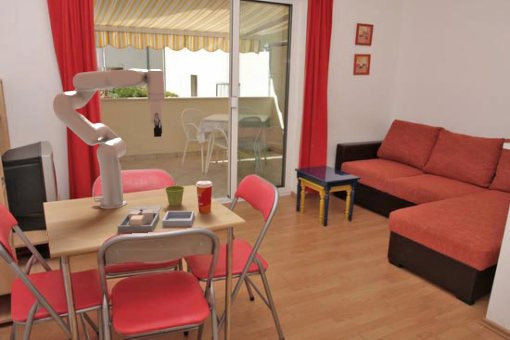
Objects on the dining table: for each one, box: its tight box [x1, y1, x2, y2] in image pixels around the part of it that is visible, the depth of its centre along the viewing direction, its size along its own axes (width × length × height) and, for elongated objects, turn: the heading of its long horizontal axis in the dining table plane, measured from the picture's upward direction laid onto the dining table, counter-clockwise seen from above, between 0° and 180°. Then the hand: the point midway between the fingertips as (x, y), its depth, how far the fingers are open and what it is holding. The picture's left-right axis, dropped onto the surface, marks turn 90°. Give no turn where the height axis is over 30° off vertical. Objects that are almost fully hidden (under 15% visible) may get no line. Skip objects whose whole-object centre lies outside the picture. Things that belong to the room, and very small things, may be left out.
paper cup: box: [195, 180, 213, 214], centre depth 187 cm, size 8×8×14 cm
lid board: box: [124, 205, 162, 217], centre depth 185 cm, size 14×14×2 cm
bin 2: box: [161, 210, 195, 227], centre depth 174 cm, size 12×12×3 cm
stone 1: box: [129, 211, 142, 223], centre depth 173 cm, size 4×4×4 cm
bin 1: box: [117, 212, 160, 233], centre depth 170 cm, size 14×16×3 cm
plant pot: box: [164, 185, 185, 207], centre depth 196 cm, size 9×9×9 cm
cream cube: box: [130, 215, 144, 226], centre depth 166 cm, size 4×4×4 cm
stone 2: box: [142, 209, 154, 223], centre depth 173 cm, size 4×4×4 cm
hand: (158, 135), depth 186 cm, fingers open, 9 cm apart
